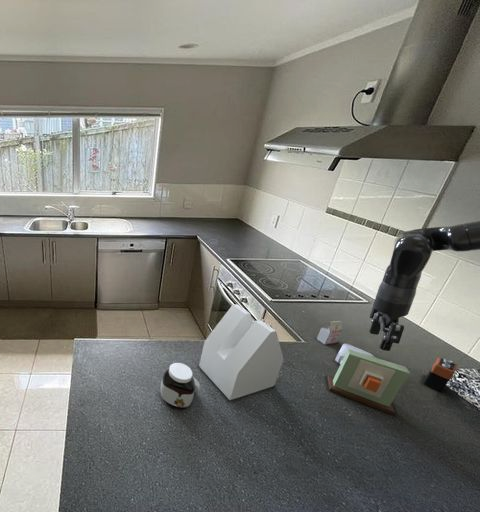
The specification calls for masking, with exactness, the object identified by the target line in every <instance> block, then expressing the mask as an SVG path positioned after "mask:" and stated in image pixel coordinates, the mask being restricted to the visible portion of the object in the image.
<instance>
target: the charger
mask: <svg viewBox="0 0 480 512" xmlns="http://www.w3.org/2000/svg"><path fill="white" fill-rule="evenodd" d="M348 349H350V350H353V351H356V352H360V353H363V354H366V355H369V356H372V357H375V356H374V355H373V354H372V353H370V352H368V351H366V350H364V349H361V348H359V347H356V346H354V345H352V344H349V343H343V344H342V345H341V347H340V349H339V350H338V353H337V354H336V356H335V359H334V361H335V362H336V363H338V364H339V366H340V365H341V362H342V360H343V358H344V356H345V354H346V352H347V350H348Z"/></svg>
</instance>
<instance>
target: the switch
mask: <svg viewBox="0 0 480 512" xmlns="http://www.w3.org/2000/svg"><path fill="white" fill-rule="evenodd" d="M380 385H381V383H380V380H378V379H375V378H372V377H369V376H368V378H367V380H366V382H365V384H364V387H365V389H368V390H371V391H373V392H377V390H378V388H379V386H380Z"/></svg>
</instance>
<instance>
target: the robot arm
mask: <svg viewBox="0 0 480 512" xmlns="http://www.w3.org/2000/svg"><path fill="white" fill-rule="evenodd" d="M393 244H394V248H393V250H392V255H391V257H390V262H389V264H388V265H387V267H386V269H385V272H384V275H383V277H382V281H381V282H380V284H379V286H378V289H377V292H376V295H375V298H374V302H373V303H372V304H373V305H372V308H371V312H370V313H369V319H371V320H370V321H371V324H370V328H369V334H371V335H375V336H377V335H379V334H380V332H381V333H382V338H381V342H380V345H379V349H380V350H381V351H385V352H390V351H391V349H392V346H393V344H400V341H401V339H402V336H403V333H404V330H405V326H404V325H403V324H400V321H399V320H400V318H403V317H407V316H408V315H409V313H410V310H411V308H412V305H413V302H414V299H415V297H416V295H417V288H418V286H419V283H420V281H421V277H422V274H423V271H424V269H425V268H426V266H427V265H428V263H429V261H430V258H431V256H432V253H433V252H437V251H453V252H457V253H458V252H459V253H460V252H461V253H462V252H471V251H480V220H477V221H472V222H466V223H460V224H456V225H455V224H454V225H450V226H435V227H424V228H423V227H422V228H416V229H411V230H406V231H404V232H401V233H400V234H399V235H397V236H396V238H395V239H394V243H393Z"/></svg>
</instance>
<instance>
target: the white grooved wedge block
mask: <svg viewBox="0 0 480 512" xmlns="http://www.w3.org/2000/svg"><path fill="white" fill-rule="evenodd" d="M200 355H201V356H200V359H199V362H198V367H199V368H200V369H201V370H202V371H203V373H204V374H205V375H206V376H207V377H208V378H209V379H210V380H211V382H213V384H215V386H216V387H217V388H218V389H219V390H220V391H221V392H222V393H223V395H224V396H225V397H226V398H227V399H228V400H229V401H233V400H235V399H239V398H241V397H244V396H247V395H248V396H249V395H250V394H254V393H257V392H261V391H264V390H267V389H269V388H273V387H275V384H276V382H277V379H278V376H279V375H280V371H281V369H282V366H283V363H284V361H285V359H284V355H283V351H282V348H281V343H280V340H279V337H278V333H277V330H275V329H274V328H272V327H271V326H270V325H269V324H267V323H265V322H264V321H262V320H261V319H256V320H255V321H254V319H253V318H252V314H251V313H250V312H249V311H248V310H247V309H245V308H243V307H242V306H240V305H239V304H237V303H236V304H232V305H231V306H230V308H229V309H228V310H227V312H225V314H224V315H223V317H222V318H221V319H220V320H219V322H218V323H217V324H216V326H215V327H214V328H213V330H212V331H211V332H210V333H209V335H208V336H207V337H206V338H205V340H204V342H203V346H202V351H201V354H200Z"/></svg>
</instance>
